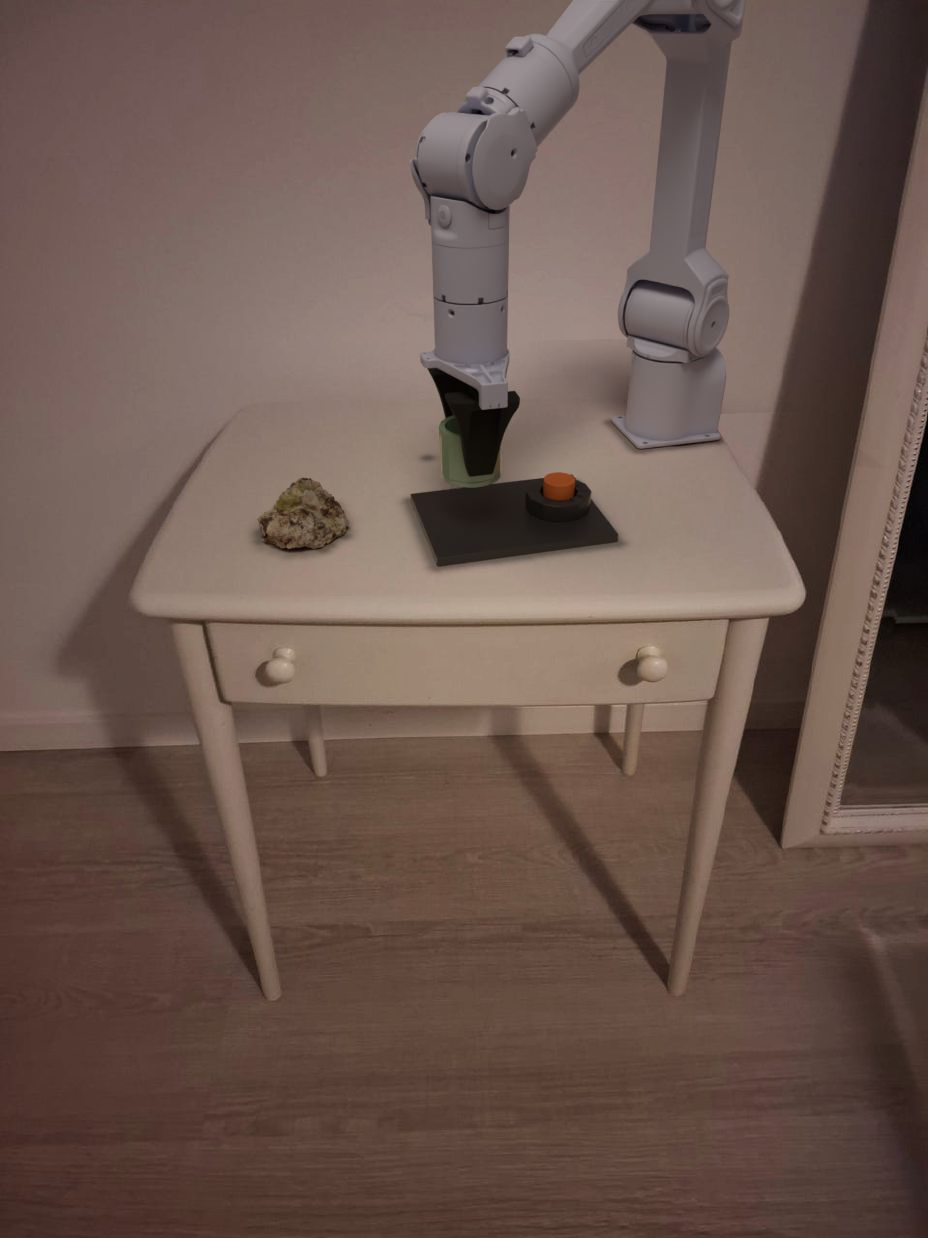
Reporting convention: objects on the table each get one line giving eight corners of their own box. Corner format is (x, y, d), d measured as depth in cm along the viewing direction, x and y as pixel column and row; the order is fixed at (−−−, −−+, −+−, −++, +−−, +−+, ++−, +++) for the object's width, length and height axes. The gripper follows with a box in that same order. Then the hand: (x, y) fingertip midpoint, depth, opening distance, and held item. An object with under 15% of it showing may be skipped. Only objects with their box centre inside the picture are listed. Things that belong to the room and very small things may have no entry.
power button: (568, 485, 79) (569, 470, 78) (578, 499, 77) (579, 483, 76) (538, 489, 79) (539, 473, 78) (548, 503, 77) (549, 487, 76)
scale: (571, 482, 85) (573, 458, 83) (617, 542, 75) (620, 517, 74) (410, 502, 82) (409, 477, 80) (437, 567, 72) (436, 541, 71)
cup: (492, 458, 77) (492, 410, 75) (508, 483, 73) (509, 433, 70) (435, 464, 76) (433, 416, 74) (448, 491, 72) (446, 440, 70)
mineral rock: (347, 531, 73) (251, 509, 71) (338, 574, 75) (244, 554, 74) (359, 477, 82) (274, 457, 80) (350, 517, 84) (267, 498, 83)
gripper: (402, 274, 71) (409, 430, 79) (439, 327, 60) (444, 503, 67) (485, 268, 72) (484, 422, 80) (537, 318, 61) (531, 492, 69)
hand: (471, 458), depth 74 cm, fingers closed on cup, 5 cm apart
